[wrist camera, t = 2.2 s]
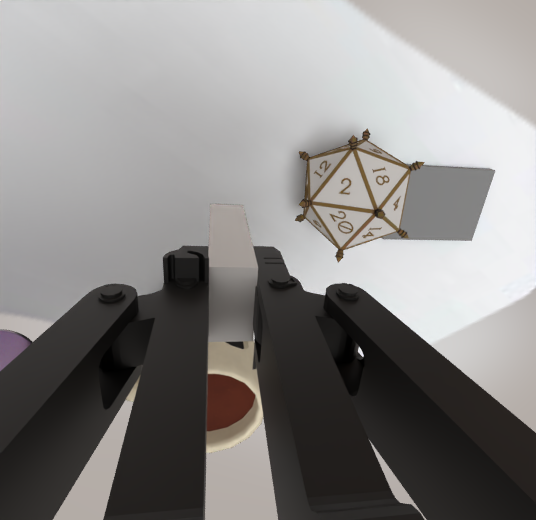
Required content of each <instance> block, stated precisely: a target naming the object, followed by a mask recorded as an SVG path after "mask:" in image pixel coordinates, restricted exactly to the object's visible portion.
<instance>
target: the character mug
mask: <svg viewBox="0 0 536 520" xmlns="http://www.w3.org/2000/svg"><path fill="white" fill-rule="evenodd" d="M253 356H254V340H253V341H238V342H208V390H207V438H206V453H212V452H217V451H220V450H224V449H228V448H232V447H234V446H235V445H237V444H239V443H241V442H242V441H244V440H246V439H247V438H249V437H250V436H251V435H252V433H254V431H255V430H256V429H257V428H258V427H259V426H260V425H261V422H262V419H263V410H262V403H261V396H260V389H259V383H258V376H257V369H254V370H252V369H253ZM139 379H140V377H139V378H138V380H137V382H136V383H135V385H134V387H133V388H132V390H131V391H130V393H129V395H128V396H127V398H126V400H127V401H132V402H134V398H135V395H136V391H137V387H138V383H139Z"/></svg>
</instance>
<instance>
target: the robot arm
mask: <svg viewBox="0 0 536 520" xmlns="http://www.w3.org/2000/svg"><path fill="white" fill-rule="evenodd" d="M163 269H164V285H163V289H162V290H160V291H158V292H155V293H152V294H148V295H143V296H137V292H136V289H134V288H133V287H131V286H128V285H124V284H111V285H109V284H108V285H104V286H101V287H99V288H96V289H94V290H92V291H91V292H89V293H88V294H87V295H86V296H85V297H83V298H82V299H81V300H80V301H79V302H78V303H77V304H76V305H74V306H73V307H72V308H71V309H70V310H69V311H68V312H67V313H65V314H64V315H63V316H62V317H61V318H60V319H59V320H57V321H56V322H55V323H54V324H53V325H52V326H51V327H50V328H48V329H47V330H46V331H45V332H44V333H43V334H42V335H41V336H39V337H38V338H37V339H36V340H35V341H34V342H33V343H32V344H30V345H29V346H28V347H27V348H26V349H25V350H24V351H22V352H21V353H20V354H19V355H18V356H17V357H16V358H15V359H13V360H12V361H11V362H10V363H9V364H8V365H7V366H6V367H4V368H3V369H2V370H1V371H0V520H53V518H54V516H55V515H56V513H57V511H58V510H59V508H60V506H61V505H62V503H63V502H64V500H65V498H66V497H67V495H68V493H69V492H70V490H71V489H72V487H73V485H74V484H75V482H76V480H77V479H78V477H79V475H80V474H81V472H82V470H83V469H84V467H85V465H86V464H87V462H88V461H89V459H90V457H91V456H92V454H93V452H94V450H95V449H96V447H97V446H98V444H99V442H100V441H101V439H102V438H103V436H104V434H105V433H106V431H107V429H108V428H109V426H110V424H111V423H112V421H113V419H114V418H115V416H116V414H117V413H118V411H119V410H120V408H121V406H122V405H123V403H124V401H125V400H126V398H127V396H128V395H129V393H130V391H131V390H132V388H133V387H134V385H135V383H136V382H137V380H138V378H139V377H140V379H139V383H138V387H137V391H136V395H135V398H134V402H133V406H132V410H131V414H130V418H129V422H128V426H127V430H126V434H125V437H124V442H123V445H122V449H121V453H120V457H119V461H118V465H117V469H116V473H115V477H114V480H113V484H112V488H111V492H110V496H109V500H108V504H107V508H106V512H105V516H104V519H103V520H205V487H206V438H207V390H208V342H238V341H253V333H254V335H255V342H254V356H253V369H252V370H254V369H257V376H258V383H259V389H260V396H261V403H262V410H263V417H264V423H265V430H266V437H267V445H268V451H269V458H270V465H271V472H272V479H273V486H274V493H275V500H276V506H277V513H278V520H424V518H423V517H422V515H421V513H420V512H419V511H418V510H417V509H415V508H414V507H413V506H412V505H411V504H403V503H400V502H399V501H398V500H397V499H396V498H395V497H394V495H393V493H392V491H391V489H390V487H389V484H388V482H387V480H386V478H385V475H384V473H383V471H382V468H381V466H380V464H379V462H378V459H377V457H376V455H375V452H374V450H373V448H372V446H371V443H372V444H373V445H374V447H375V448H376V449H377V451H378V452H379V454H380V455H381V456H382V458H383V459H384V460H385V462H386V463H387V465H388V466H389V468H390V469H391V470H392V472H393V473H394V474H395V476H396V477H397V479H398V480H399V481H400V483H401V484H402V486H403V487H404V488H405V490H406V491H407V493H408V494H409V496H410V497H411V498H412V500H413V501H414V503H415V504H416V505H417V507H418V508H419V510H420V511H421V512H422V514H423V515H424V517H425V518H426V519H427V520H536V433H535V432H534V431H533V430H532V429H530V428H529V427H528V426H527V425H526V424H524V423H523V422H522V421H521V420H520V419H518V418H517V417H516V416H515V415H514V414H512V413H511V412H510V411H509V410H507V409H506V408H505V407H504V406H503V405H502V404H500V403H499V402H498V401H497V400H495V399H494V398H493V397H492V396H491V395H490V394H488V393H487V392H486V391H485V390H484V389H482V388H481V387H480V386H479V385H478V384H476V383H475V382H474V381H473V380H472V379H470V378H469V377H468V376H467V375H465V374H464V373H463V372H462V371H461V370H459V369H458V368H457V367H456V366H455V365H453V364H452V363H451V362H450V361H449V360H447V359H446V358H445V357H444V356H442V355H441V354H440V353H439V352H438V351H437V350H435V349H434V348H433V347H432V346H431V345H429V344H428V343H427V342H426V341H425V340H423V339H422V338H421V337H420V336H419V335H417V334H416V333H415V332H414V331H413V330H411V329H410V328H409V327H408V326H407V325H405V324H404V323H403V322H402V321H401V320H399V319H398V318H397V317H396V316H395V315H393V314H392V313H391V312H390V311H389V310H387V309H386V308H385V307H384V306H383V305H381V304H380V303H379V302H378V301H377V300H375V299H374V298H373V297H372V296H370V295H369V294H368V293H367V292H366V291H364V290H362V289H361V288H359V287H356V286H354V285H352V284H347V283H342V284H333V285H330V286H329V287H328V288H326V294H325V295H320V294H314V293H310V292H306V291H304V290H303V288H302V285H301V283H300V282H299V281H298V279H296V278H294V277H292V276H290V275H289V273H288V270H287V268H286V265H285V263H284V260H283V258H282V255H281V253H280V251H278V250H277V249H276V248H274V247H264V246H253V244H252V240H251V236H250V232H249V228H248V223H247V219H246V215H245V211H244V207H243V205H231V204H210V224H209V246H182V247H181V248H180V249H179V250H175V251H171V252H169V253H167V254H165V256H164V257H163ZM359 347H360V348H361V350H362V352H363V354H364V357H362V356H361V355H360V354H359V353H358V348H359ZM368 438H369V439H368ZM369 440H370V441H371V443H370V441H369Z"/></svg>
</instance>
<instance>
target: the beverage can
mask: <svg viewBox="0 0 536 520" xmlns="http://www.w3.org/2000/svg"><path fill="white" fill-rule="evenodd" d="M32 343H33V342H32V341H31V340H30V339H29V338H27V337H26V336H24V335H22V334H20V333H17V332H14V331H10V330H0V371H1V370H2V369H3V368H4V367H6V366H7V365H8V364H9V363H10V362H11V361H12V360H13V359H15V358H16V357H17V356H18V355H19V354H20V353H21V352H22V351H24V350H25V349H26V348H27V347H28V346H29V345H30V344H32Z"/></svg>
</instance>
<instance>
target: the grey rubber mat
mask: <svg viewBox="0 0 536 520" xmlns="http://www.w3.org/2000/svg"><path fill="white" fill-rule="evenodd" d="M406 165H407V164H406ZM407 166H411V165H407ZM494 173H495V170H492V169H480V168H462V167H444V166H426V165H422V166H421V167H420V169H417V170H416V171H415V170H413V171H411V173H410V179H409V184H408V189H407V195H406V200H405V205H404V210H403V216H402V221H401V226H400V229H402V230H404V231H405V232H407V235H408V237H409V239H408V238H401V236H399V234H398V233H397V232H395V233H393V234H390V235H387V236H384V237H381V238H382V239H404V240H463V241H472V238H473V235H474V232H475V229H476V226H477V223H478V220H479V217H480V214H481V211H482V208H483V206H484V203H485V200H486V197H487V194H488V191H489V188H490V185H491V182H492V179H493V176H494Z"/></svg>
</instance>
